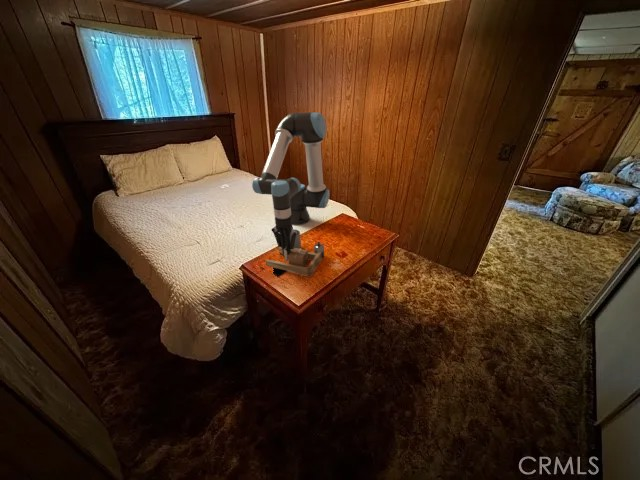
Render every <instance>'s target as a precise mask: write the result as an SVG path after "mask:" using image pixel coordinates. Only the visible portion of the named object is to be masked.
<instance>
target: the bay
mask: <svg viewBox="0 0 640 480" xmlns="http://www.w3.org/2000/svg"><path fill="white" fill-rule="evenodd" d="M292 250H293V249H291V251H292ZM279 253H281V254H280V255H284V254H283V251H282V248H281V247H278V254H279ZM309 260H310V261H311V262H310V263H309V264H308V266H307V267H306V266H305V267H301V266H296V265H292V264H289V263H286V262H281V261H278V260H273V259H271V260H268V258H267V259H266V260H265V261H266V265H267V266H270V267H273V268H277V269H282V270H286V271H287V272H286V273H292V274H297V275H300V276H301V275H302V276H306V277H310V278H311V277H312V276H313V274H314V273H315V271H316V270H317V268H318V267H319V265H320V263H321V262H322V261H323V258H322V252H318V253H317V254H316V253H314V252H311V251H308V261H309Z"/></svg>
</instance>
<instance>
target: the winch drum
mask: <svg viewBox="0 0 640 480" xmlns="http://www.w3.org/2000/svg"><path fill="white" fill-rule="evenodd" d="M313 251H314V252H313V253H316V254H317V253H318V252H322V259H324V257H325V246H324V244H322V243H321V241H317V243H316V244H314V245H313Z"/></svg>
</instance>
